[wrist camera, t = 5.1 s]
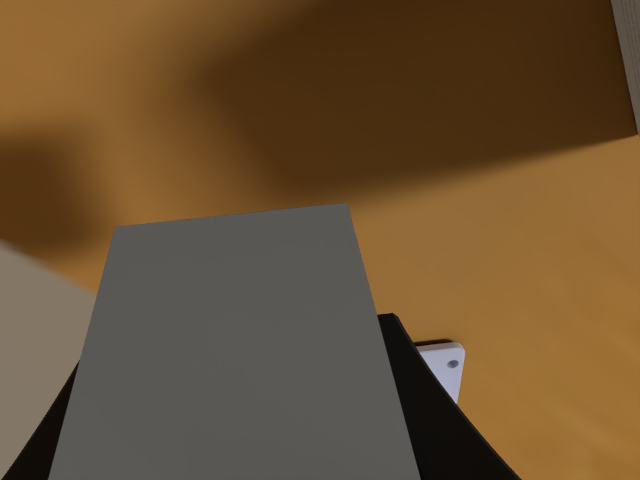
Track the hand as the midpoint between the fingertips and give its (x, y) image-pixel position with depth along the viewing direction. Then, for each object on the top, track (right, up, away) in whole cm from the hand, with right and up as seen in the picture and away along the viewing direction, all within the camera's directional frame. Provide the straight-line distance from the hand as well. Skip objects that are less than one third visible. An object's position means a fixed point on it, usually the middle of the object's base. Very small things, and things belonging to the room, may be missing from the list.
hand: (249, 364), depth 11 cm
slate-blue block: (0, +1, +1) cm, 2 cm away
